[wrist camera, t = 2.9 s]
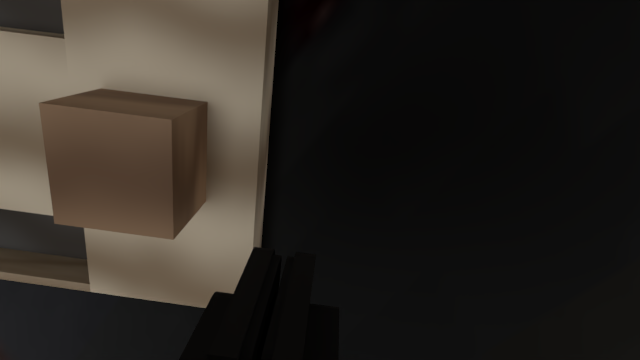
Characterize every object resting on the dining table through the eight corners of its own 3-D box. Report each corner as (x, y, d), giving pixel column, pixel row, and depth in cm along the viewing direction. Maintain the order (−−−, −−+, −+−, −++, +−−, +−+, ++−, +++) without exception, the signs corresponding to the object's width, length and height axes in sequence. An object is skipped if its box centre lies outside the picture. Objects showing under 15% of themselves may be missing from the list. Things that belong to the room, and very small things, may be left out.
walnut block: (100, 88, 19) (38, 102, 15) (207, 101, 19) (171, 119, 15) (108, 188, 21) (54, 223, 17) (205, 201, 20) (173, 239, 17)
